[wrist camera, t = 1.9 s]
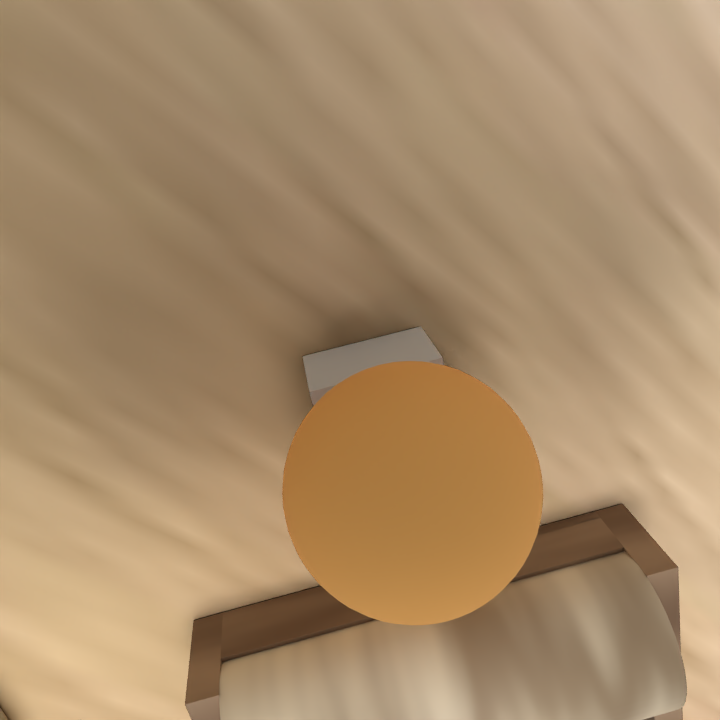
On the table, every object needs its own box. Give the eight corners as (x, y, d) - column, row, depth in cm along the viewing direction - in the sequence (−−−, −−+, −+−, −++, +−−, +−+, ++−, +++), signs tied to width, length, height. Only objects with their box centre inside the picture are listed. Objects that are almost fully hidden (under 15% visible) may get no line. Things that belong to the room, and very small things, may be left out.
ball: (251, 358, 18) (252, 484, 12) (477, 301, 18) (577, 400, 12) (307, 544, 20) (329, 720, 14) (505, 490, 20) (600, 643, 15)
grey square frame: (302, 356, 20) (309, 391, 18) (420, 326, 20) (442, 357, 18) (329, 459, 22) (339, 504, 19) (440, 430, 22) (462, 471, 20)
